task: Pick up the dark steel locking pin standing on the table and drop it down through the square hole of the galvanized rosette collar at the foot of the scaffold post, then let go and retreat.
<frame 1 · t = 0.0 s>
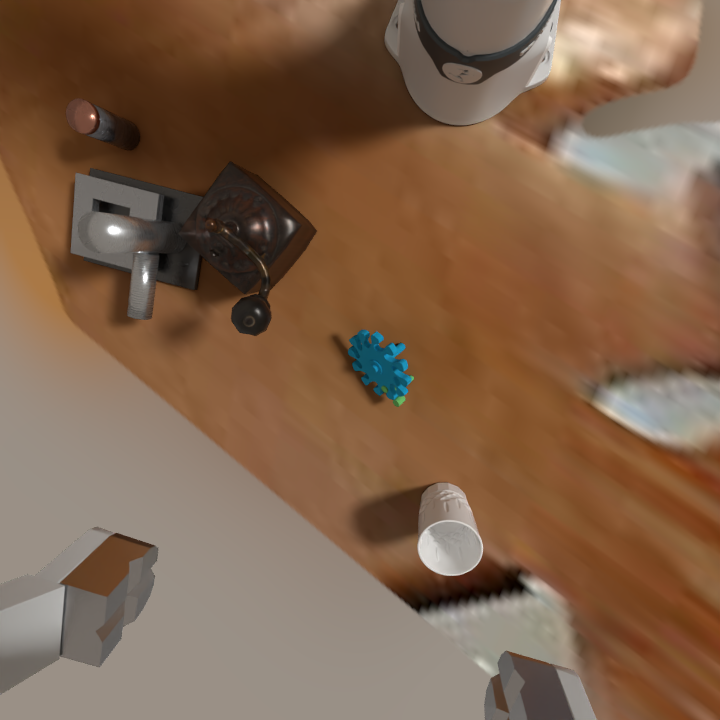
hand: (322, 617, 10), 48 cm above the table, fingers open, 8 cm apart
gear: (382, 361, 58), on the table
rosette post: (175, 238, 57), on the table
pin: (127, 135, 54), on the table
dark brown coffee grinder: (278, 249, 56), on the table
white cup: (443, 501, 62), on the table
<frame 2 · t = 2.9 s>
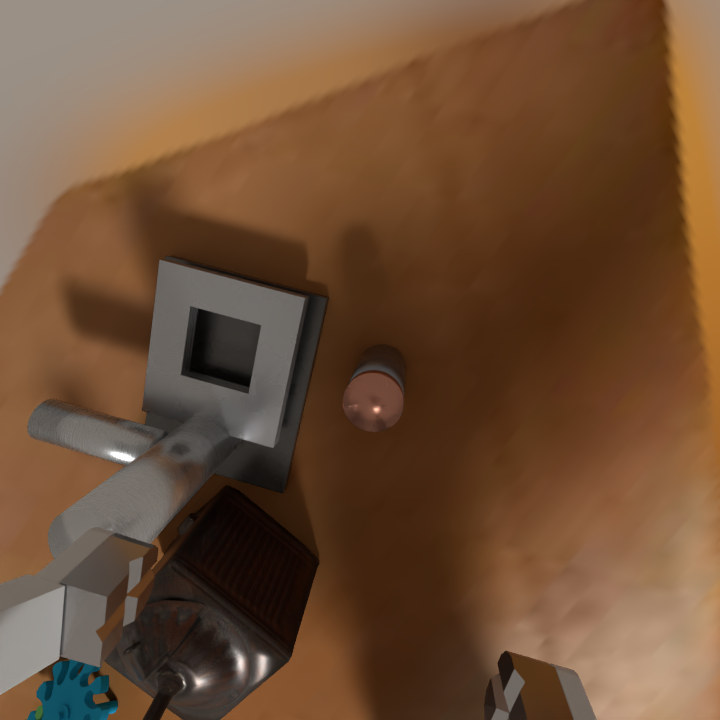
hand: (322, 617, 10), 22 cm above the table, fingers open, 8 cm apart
gear: (93, 677, 43), on the table
rosette post: (223, 424, 34), on the table
pin: (382, 367, 31), on the table
dark brown coffee grinder: (222, 570, 38), on the table
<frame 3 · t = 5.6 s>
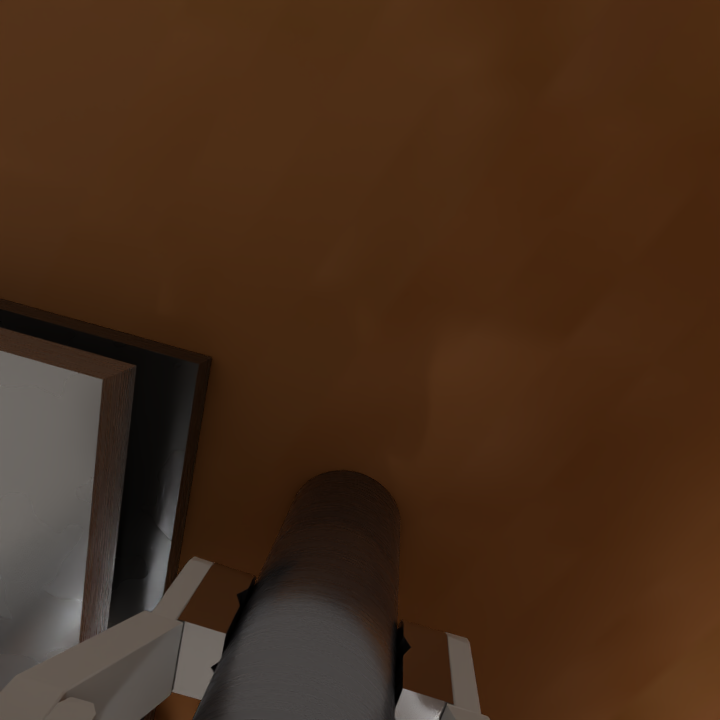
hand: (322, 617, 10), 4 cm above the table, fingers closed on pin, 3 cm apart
rosette post: (9, 617, 16), on the table
pin: (345, 520, 13), on the table, touching gripper
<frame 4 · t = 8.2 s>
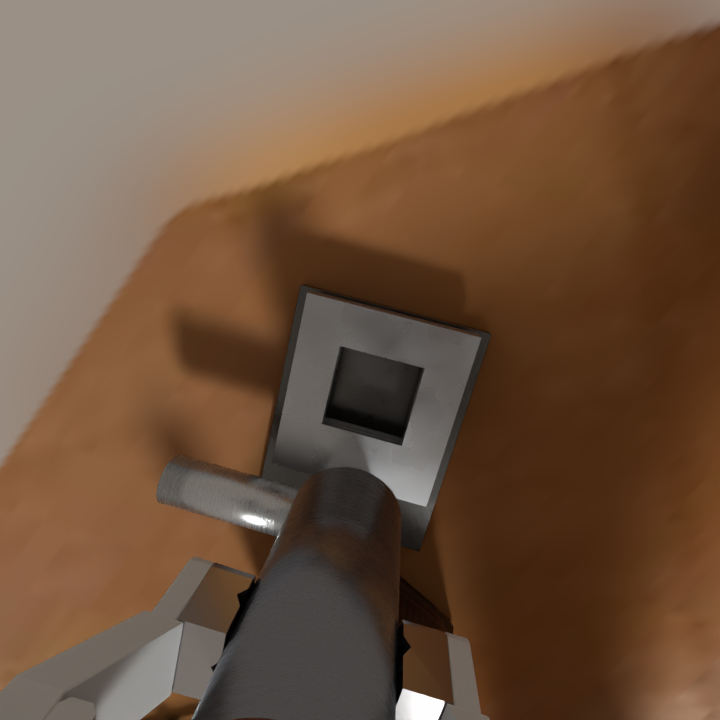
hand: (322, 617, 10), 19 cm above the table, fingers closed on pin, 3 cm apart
rosette post: (351, 473, 30), on the table
pin: (346, 516, 13), point 15 cm above the table, touching gripper
dark brown coffee grinder: (335, 631, 34), on the table
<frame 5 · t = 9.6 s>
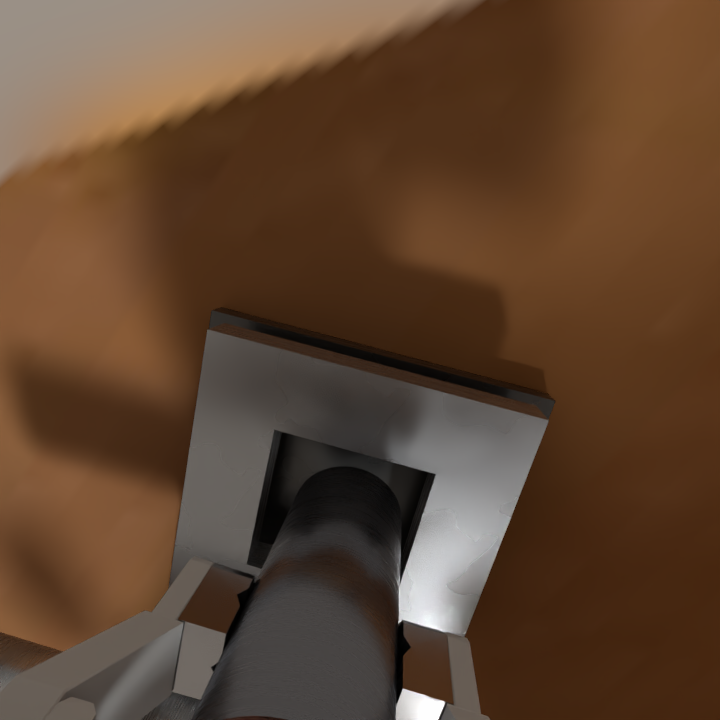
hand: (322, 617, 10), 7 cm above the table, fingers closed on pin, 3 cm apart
rosette post: (311, 613, 18), on the table
pin: (346, 515, 13), point 3 cm above the table, touching gripper
when the fingers open (5 cm above the table, at t = 10.6 s): pin stays where it is, resting on rosette post.
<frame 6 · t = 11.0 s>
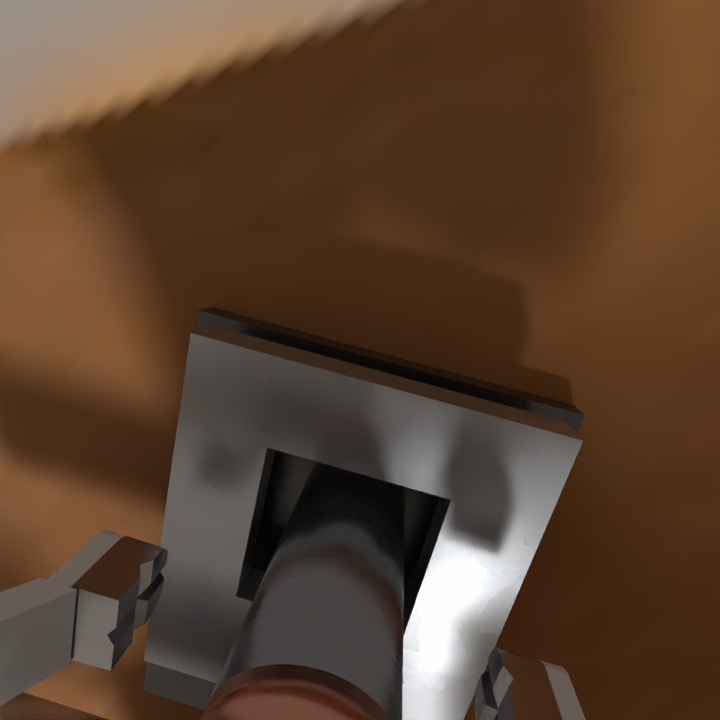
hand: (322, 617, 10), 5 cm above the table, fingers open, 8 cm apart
rosette post: (309, 641, 17), on the table
pin: (353, 501, 14), point 1 cm above the table, touching rosette post
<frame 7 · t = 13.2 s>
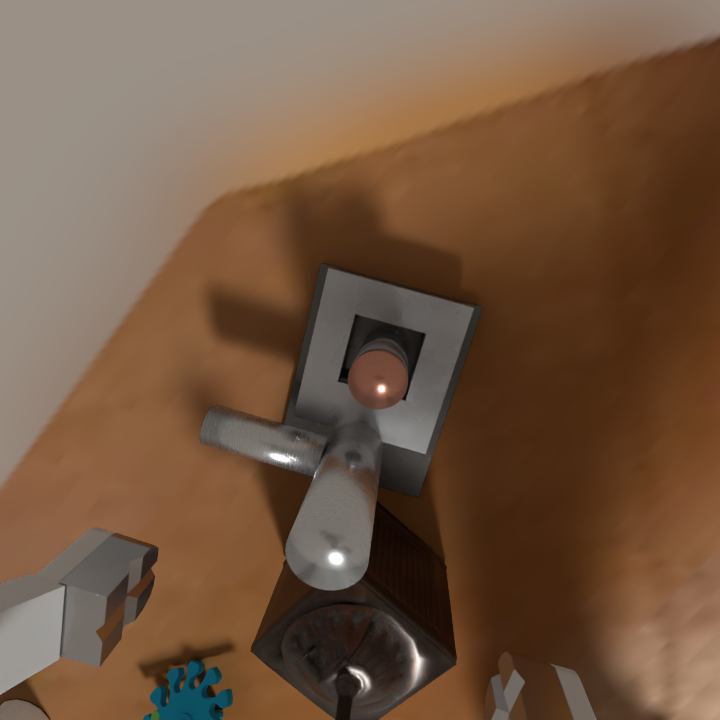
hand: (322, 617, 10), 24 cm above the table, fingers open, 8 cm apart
gear: (202, 685, 43), on the table
rosette post: (360, 429, 34), on the table
pin: (384, 350, 32), point 1 cm above the table, touching rosette post
dark brown coffee grinder: (342, 573, 38), on the table
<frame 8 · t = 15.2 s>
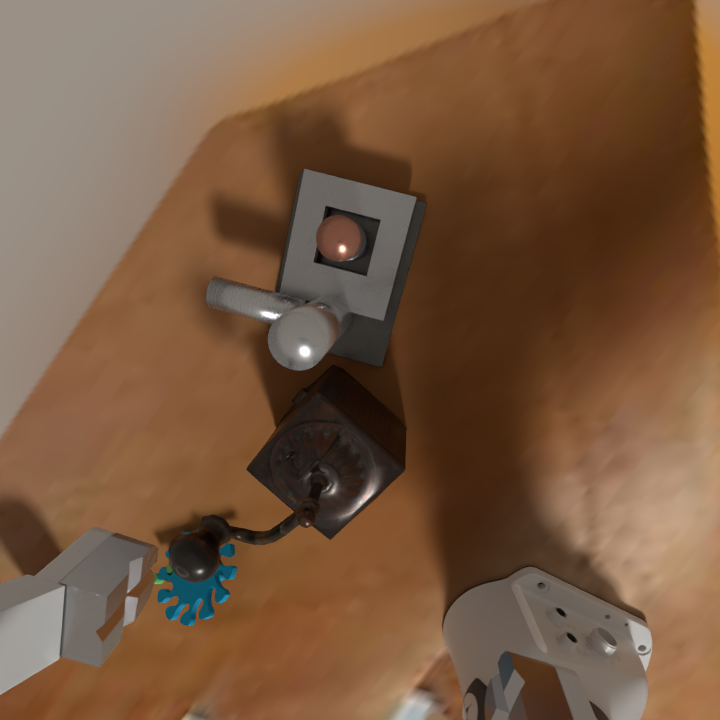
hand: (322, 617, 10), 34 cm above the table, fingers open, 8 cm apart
gear: (208, 550, 52), on the table
rosette post: (334, 312, 43), on the table
pin: (351, 241, 40), point 1 cm above the table, touching rosette post
dark brown coffee grinder: (323, 440, 46), on the table
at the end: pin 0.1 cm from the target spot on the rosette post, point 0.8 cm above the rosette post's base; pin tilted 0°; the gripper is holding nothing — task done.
